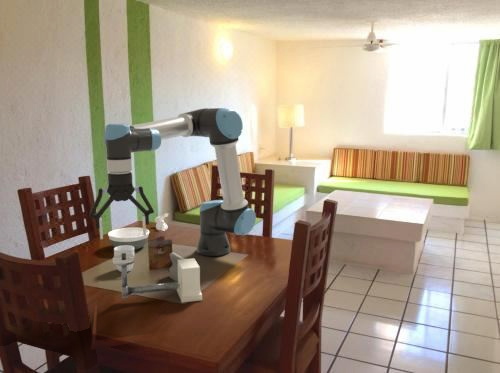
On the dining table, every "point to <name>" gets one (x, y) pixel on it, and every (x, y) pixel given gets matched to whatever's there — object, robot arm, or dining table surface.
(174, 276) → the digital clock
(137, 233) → the bowl
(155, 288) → the l-shaped grey rod
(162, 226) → the rabbit figurine
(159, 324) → the dining table surface
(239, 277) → the dining table surface
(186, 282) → the white upright block
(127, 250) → the mug
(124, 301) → the dining table surface
